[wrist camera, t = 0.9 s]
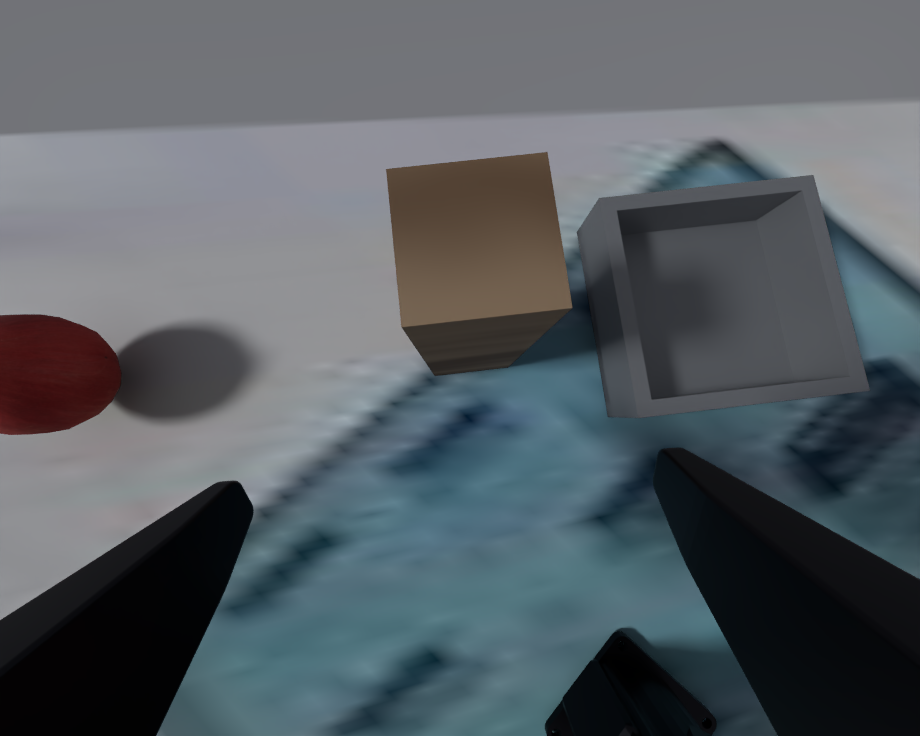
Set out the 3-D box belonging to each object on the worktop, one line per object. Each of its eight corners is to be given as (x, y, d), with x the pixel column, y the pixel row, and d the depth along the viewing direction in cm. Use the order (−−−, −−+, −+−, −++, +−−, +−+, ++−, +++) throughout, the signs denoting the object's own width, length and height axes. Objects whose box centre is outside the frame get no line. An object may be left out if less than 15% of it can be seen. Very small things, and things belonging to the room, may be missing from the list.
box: (801, 394, 21) (870, 390, 17) (608, 417, 20) (638, 418, 17) (757, 212, 22) (813, 175, 19) (577, 232, 22) (599, 198, 18)
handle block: (507, 367, 21) (572, 307, 9) (434, 375, 21) (401, 327, 9) (498, 296, 21) (547, 152, 9) (427, 304, 21) (385, 169, 9)
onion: (58, 432, 20) (-199, 446, 12) (67, 336, 21) (-171, 290, 13) (159, 427, 20) (-33, 436, 12) (164, 330, 21) (-15, 282, 13)
